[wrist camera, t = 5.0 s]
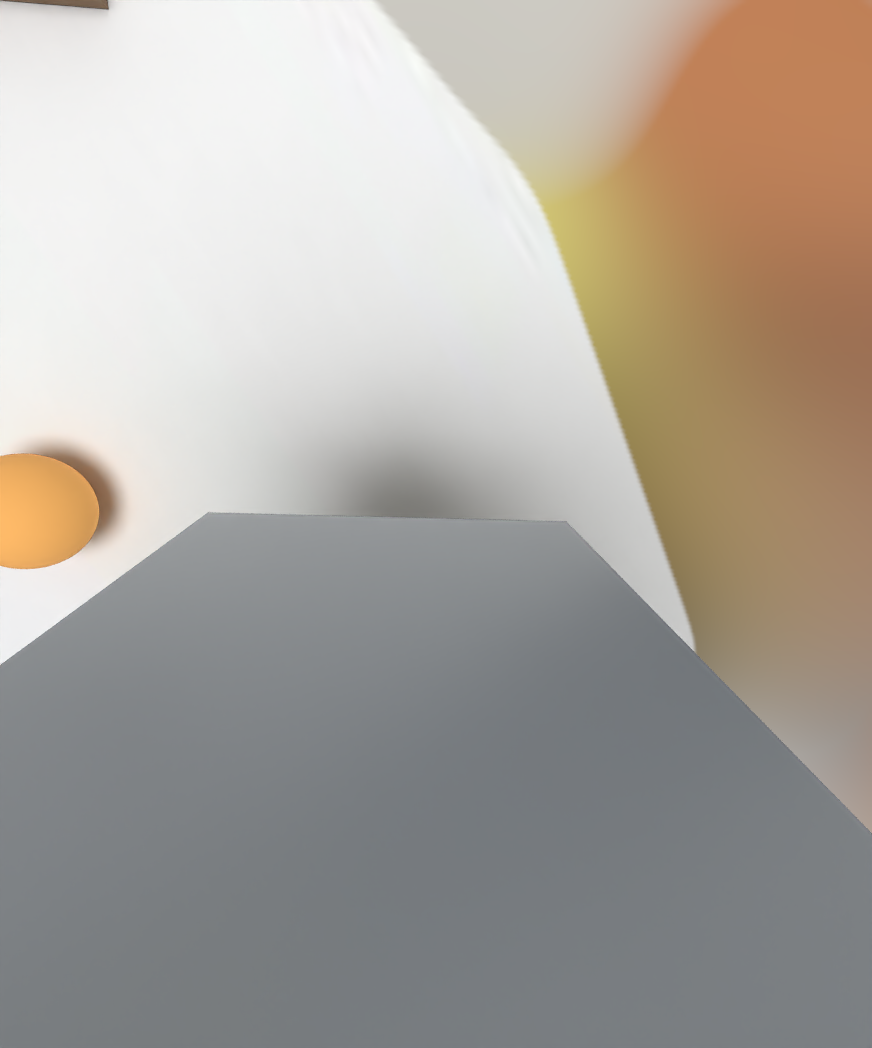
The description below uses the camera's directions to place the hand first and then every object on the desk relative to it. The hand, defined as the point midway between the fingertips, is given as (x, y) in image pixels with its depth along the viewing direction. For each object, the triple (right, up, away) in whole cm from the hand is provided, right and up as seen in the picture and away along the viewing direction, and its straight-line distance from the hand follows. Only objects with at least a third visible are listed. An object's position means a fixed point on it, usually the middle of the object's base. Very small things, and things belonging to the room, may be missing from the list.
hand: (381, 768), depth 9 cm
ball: (-17, +5, +12) cm, 21 cm away
